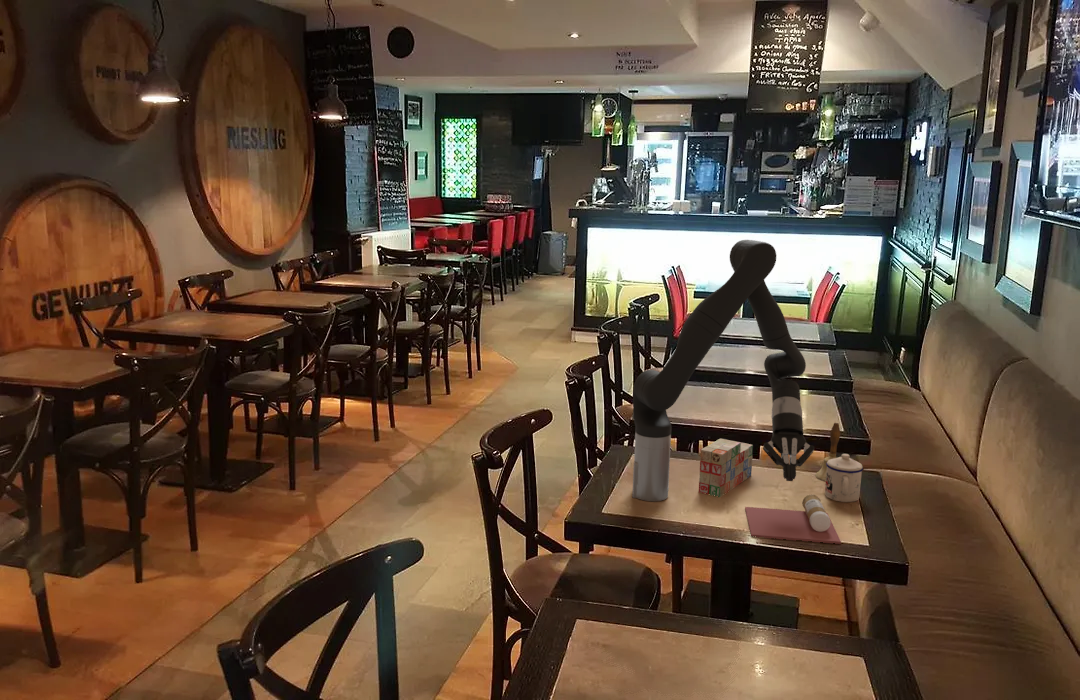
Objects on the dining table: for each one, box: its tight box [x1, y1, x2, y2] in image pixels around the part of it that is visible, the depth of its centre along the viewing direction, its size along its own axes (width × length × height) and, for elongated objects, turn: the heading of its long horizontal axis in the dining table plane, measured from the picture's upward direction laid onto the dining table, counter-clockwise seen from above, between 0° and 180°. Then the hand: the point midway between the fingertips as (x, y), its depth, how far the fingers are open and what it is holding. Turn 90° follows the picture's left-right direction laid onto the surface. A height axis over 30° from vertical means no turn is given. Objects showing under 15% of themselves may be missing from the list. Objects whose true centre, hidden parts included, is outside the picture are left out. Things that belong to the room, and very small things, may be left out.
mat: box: [744, 506, 842, 545], centre depth 194 cm, size 20×17×1 cm
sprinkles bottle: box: [801, 494, 832, 532], centre depth 196 cm, size 5×5×14 cm
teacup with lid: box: [824, 453, 864, 503], centre depth 211 cm, size 12×9×12 cm
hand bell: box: [815, 422, 841, 482], centre depth 226 cm, size 8×8×16 cm
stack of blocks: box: [698, 438, 754, 498], centre depth 221 cm, size 21×6×12 cm, turn 143°
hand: (790, 479), depth 198 cm, fingers closed
